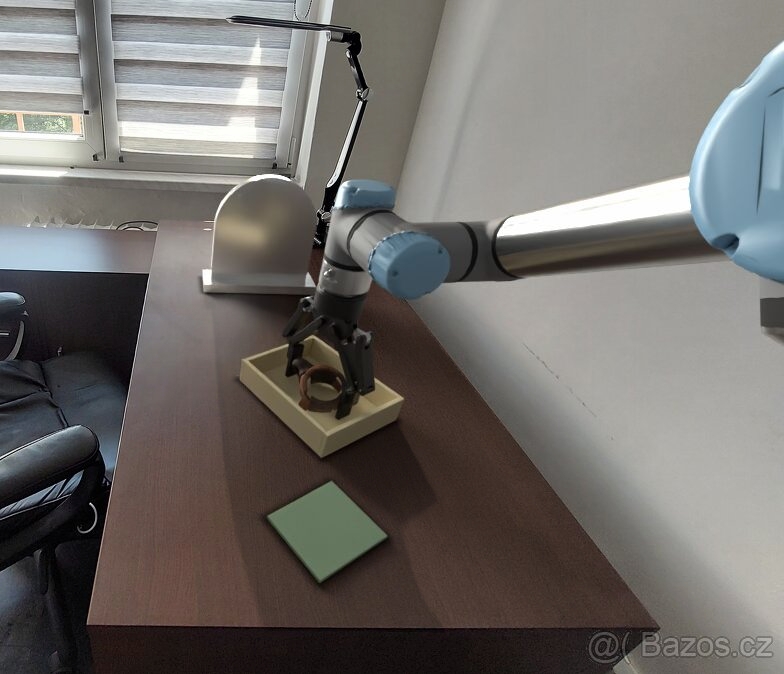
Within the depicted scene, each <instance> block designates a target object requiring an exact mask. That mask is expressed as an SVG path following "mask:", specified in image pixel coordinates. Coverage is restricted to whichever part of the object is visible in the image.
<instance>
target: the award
mask: <svg viewBox="0 0 784 674" xmlns="http://www.w3.org/2000/svg"><path fill="white" fill-rule="evenodd" d="M317 218H318V217H317V211H316V208H315V205H314V202H313V201H312V199H311V197H310V196H309V194H308V193H307V191H306V190H305V189H304V188H303V187H301V185H299V184H298V183H297V182H295V181H294V180H293V179H290V178H288V177H285V176H282V175H279V174H262V175H256V176H253V177H250V178H246V179H245V180H243V181H241V182H240V183H238V184H237V185H236V186H234V187H232V189H230V191H229V192H228V193H227V194H226V195H225V196H224V197H223V199H222V200H221V202H220V204H219V206H218V208H217V210H216V213H215V216H214V221H213V233H212V234H213V235H212V248H211V260H210V261H211V262H210V269H202V278H201V279H202V286H203V292H204V293H224V294H225V293H227V294H229V293H230V294H266V295H267V294H268V295H269V294H271V295H310V296H315V292H316V288H317V285H316V283H315V282H314V280H313V278H312V276H311V275H310V273H309V272H308V270H309V265H310V260H311V256H312V251H313V245H314V241H315V237H316V232H317V223H318V221H317V220H318V219H317Z"/></svg>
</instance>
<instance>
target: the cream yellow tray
mask: <svg viewBox="0 0 784 674" xmlns="http://www.w3.org/2000/svg"><path fill="white" fill-rule="evenodd" d="M301 343H302V344H304V345H305V346H304V351H303V355H302V358H304V359H306V360H307V361H309V362H310V363H311V364H312V365H314V366H318V365H327V366H330V367H333V368H335V369H337V370H338V371H339V372H341V373H342V374H343V375H344V371H343V368H342V364H341V361H340V357H339V353H338V352H337V351H336V350H335V348H334V347H331V346H330V345H328V344H327V343H326V342H324V341H323V340H321V339H320V338H319V337H317V336H316V335H314V334H313V335H311V336H310V337H308V338H306V339H305V340H304V341H302V342H300V343H299V344H301ZM288 345H289V344H288V343H286V344H284V345H280V346H278V347H274V348H272V349H268V350H266V351H263V352H260V353H257V354H255V355H252V356H249V357H246V358H242V359H241V366H240V374H239V381H240V382H241V383H242V384H244V386H245V387H246V388H247V389H248V390H250V391H251V393H253V394H254V395H255V396H256V397H257V398H258V399H259V400H260V401H261V402H262V403H263V404H264V405H265V406H266V407H267V408H269V410H271V412H273V414H274V415H276V416H277V417H278V418H279V420H281V421H282V422H283V423H284V424H285V425H287V427H288V428H289V429H290V430H291V431H292V432H293V433H294V434H296V435H297V436H298V437H299V439H301V440H302V441H303V442H304V443H305V444H306V445H307V446H308V447H309V448H311V450H312V451H313V452H314V453H315V454H317V455H318V457H320V459H323V458H324V457H326V456H328V455H330V454H333V453H334V452H336V451H338V450H340V449H342V448H344V447H346V446H348V445H350V444H351V443H354V442H355V441H358V440H360V439H362V438H364V437H365V436H367V435H369V434H372V433H373V432H375V431H378V430H379V429H381V428H383V427H385V426H387V425H389V424H391V423H393V422H395V421H397V419H398V417H399V414H400V412H401V409H402V407H403V404H404V402H405V398H404V397H403V396H401V395H400V394H398V393H397V392H396V391H394V390H393V389H391V387H388V386H387V385H386V384H384V383H383V382H381V381H380V380H379V379H377V378H375V377H374V379H375V391H373V392H371V393H369V394H367V395H364V396H361V395H360V398H359V401H358V403H357V404H356V405H354V406H352V409H351V412H350V415H348V416H346V417H344V418H342V419H340V420H337V419H336V418H335V415H336V412H337V410H332V412H329V413H319V412H310V411H308V410H307V411H304V410H303V409H302V408H301V407H300V406H299V405H298V404H299V403H298V402H299V401H300V400H301V398H302V397H301V395H300V385H299V378H298V376H297V374H296V375H293V376H291V377H288V378H287V377H286V376H285V373H286V368H287V363H288V358H287V351H288ZM344 377H345V375H344ZM336 379H337V380H338V381H339V382H340V383H341V381H340V379H339V378H338V377H337V378H336ZM345 379H346V378H345ZM310 381H311V379H310V377H309V379H308V380H307V389H308V392H307V395H308V397H309V398H310V399H311V396H313V397H315V398H317V399H319V400H323V401H328V400H333V399H335V398H337V397H338V396H339V395H340V393H341V392H340V393H338V392H337V391H336V389H334V388H333V387H332V386H331V385H329V384H326V383H315V384H311V383H310ZM355 383H356V382H355ZM341 385H342V384H341Z"/></svg>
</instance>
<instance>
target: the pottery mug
mask: <svg viewBox="0 0 784 674" xmlns="http://www.w3.org/2000/svg"><path fill="white" fill-rule="evenodd" d="M292 366H293V369H294V370H295V372H296V374H297V376H298V378H299V385H300V395H301V397H302V398H301V400H300V401H299V402H298V403H299V404H298V405H299V406H300V407H301V408H302V409H303V410H304V411H307V410H308V411H310V412H319V413H329V412H332V410H337V408H338V405H339V402H340V398H341V395H342V391H343V388H344V387H347V386H348V385H347V382H346V379H345V377H344V375H343V374H342V373H341V372H339V371H338V370H337V369H335V368H333V367H330V366H327V365H318V366H314V365H312V364H311V363H310V362H309V361H307V360H306V359H304V358H302V357H297V358H296V359H294V361H293V362H292ZM309 377H310V379H311V381H310V383H311V384H315V383H326V384H329V385H331V386H332V387H333V388H334V389H336V391H337V392H338V393H340V392H341V393H340V395H339V396H338V397H337V398H335V399H333V400H328V401H323V400H319V399H317V398H315V397H313V396H311V399H310V398H309V397H308V395H307V392H308V389H307V380H308V379H309ZM337 377H338V378H339V379H340V381H341V383H340V382H339V381H338V380H337V379H336V378H337ZM341 384H342V385H341Z"/></svg>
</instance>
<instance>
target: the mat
mask: <svg viewBox="0 0 784 674" xmlns="http://www.w3.org/2000/svg"><path fill="white" fill-rule="evenodd" d="M266 520H267V521H268V522H269V523H270V524H271V526H272V527H273V528H274V529H275V530H276V532H277V533H278V534H279V536H280V537H281V538H282V540H284V542H285V543H286V544H287V545H288V547H289V548H290V550H292V552H293V553H294V554H295V555H296V556H297V558H298V559H299V560H300V561H301V563H302V564H303V565H304V566H305V568H306V569H307V570H308V571H309V572H310V574H311V575H312V576H313V577H314V579H315V580H316V581H317V583H319V584H321V583H322V582H323V581H325V580H327V579H328V578H330V577H331V576H333V575H334V574H336V573H337V572H338V571H340V570H342V569H343V568H344V567H346V566H348V565H349V564H351V563H352V562H353V561H355V560H356V559H357V558H360V557H361V556H362V555H364V554H365V553H367V552H369V551H370V550H371V549H373V548H374V547H376V546H377V545H379V544H380V543H381V542H384V541H386V539H387V538H388V535H387V534H386V533H385V531H384V530H382V529H381V527H379V526H378V525H377V524H376V523H375V522H374V521H373V520H372V519H371V518H370V517H369V516H368V515H367V514H366V513H365V512H364V510H362V509H361V508H360V507H359V506H358V505H357V504H356V503H355V502H354V501H353V500H352V499H351V498H350V497H349V496H348V495H347V494H346V493H345V491H343V490H342V489H341V488H339V486H338V485H337V484H335V482H334V481H333V480H331V481H329V482H327V483H325V484H323V485H321V486H320V487H318V488H316V489H314V490H312V491H311V492H309V493H307V494H305V495H303V496H302V497H300V498H298V499H296V500H295V501H292V502H291V503H289V504H287V505H285V506H283V507H281V508H279V509H278V510H276V511H274V512H272V513H270V514H268V515H267V516H266Z"/></svg>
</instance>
